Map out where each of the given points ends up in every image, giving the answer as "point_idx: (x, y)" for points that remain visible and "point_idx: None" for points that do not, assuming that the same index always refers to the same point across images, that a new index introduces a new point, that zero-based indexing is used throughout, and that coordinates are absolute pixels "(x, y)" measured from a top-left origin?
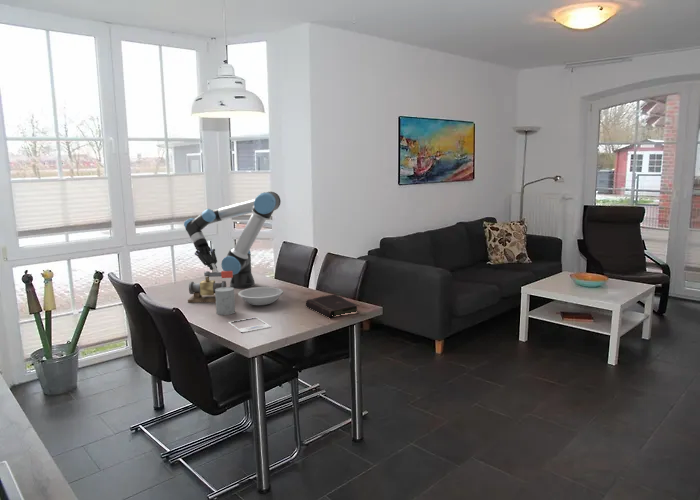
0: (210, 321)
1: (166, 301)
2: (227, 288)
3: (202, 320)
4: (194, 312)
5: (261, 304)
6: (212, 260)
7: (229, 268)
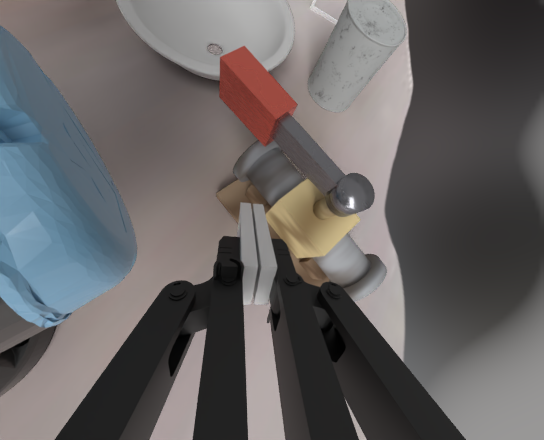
0: (385, 80)
1: (389, 333)
2: (363, 16)
3: (393, 98)
4: (381, 156)
5: (246, 20)
6: (238, 311)
7: (108, 189)
